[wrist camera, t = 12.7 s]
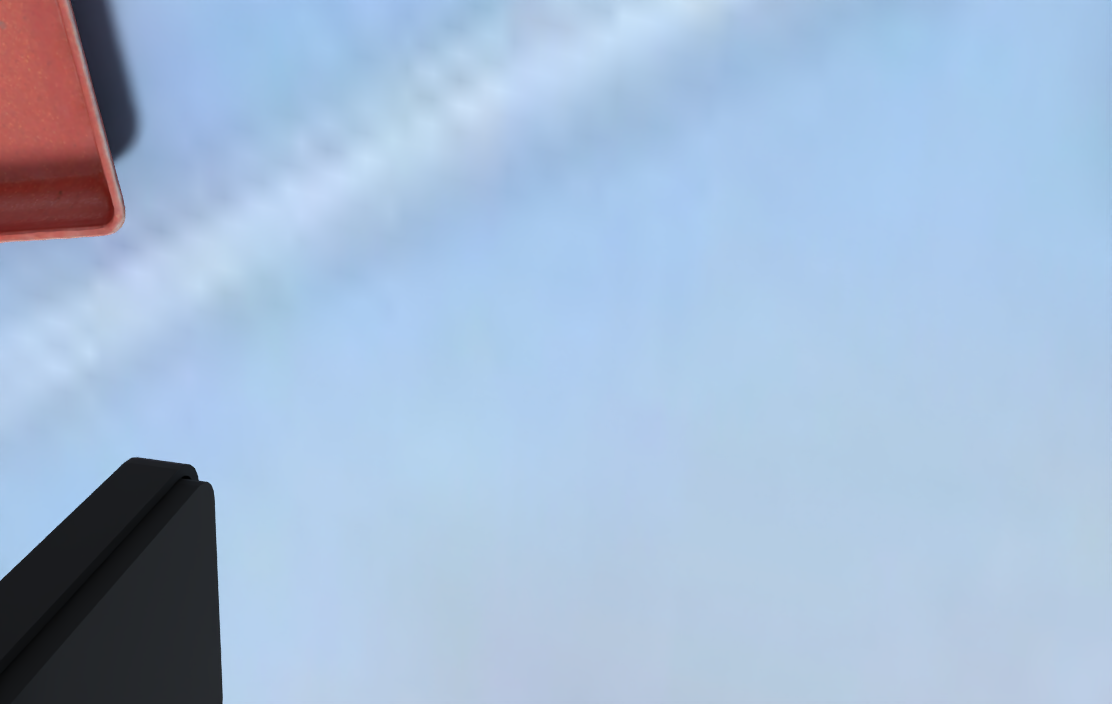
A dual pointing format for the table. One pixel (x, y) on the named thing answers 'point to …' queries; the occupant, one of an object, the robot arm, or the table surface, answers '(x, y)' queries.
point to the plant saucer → (51, 130)
